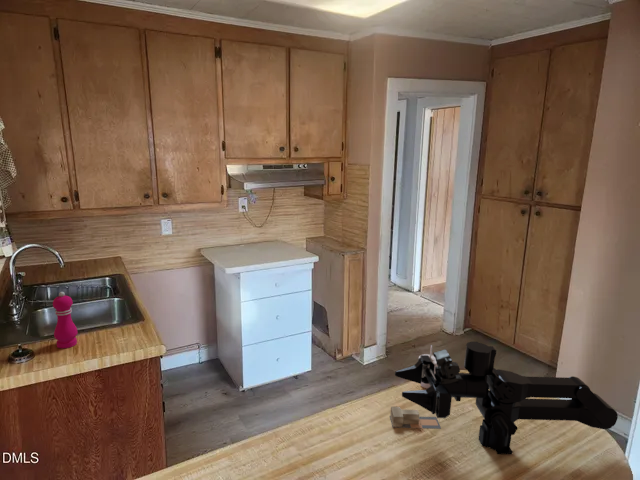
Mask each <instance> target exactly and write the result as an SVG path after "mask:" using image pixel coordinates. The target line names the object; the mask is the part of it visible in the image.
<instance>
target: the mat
mask: <svg viewBox="0 0 640 480" xmlns="http://www.w3.org/2000/svg"><path fill="white" fill-rule="evenodd" d="M389 420H390V423H391V427H392V428H393V429H394V428H395V429H397V428H399V429H401V428H403V429H405V428H406V429H434V430H437V429H439V430H440V429H442V427H441V425H440V422H439V420H438V418H437V416H419V424H403V427H393V425H392V421H391V417H390V416H389Z"/></svg>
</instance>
